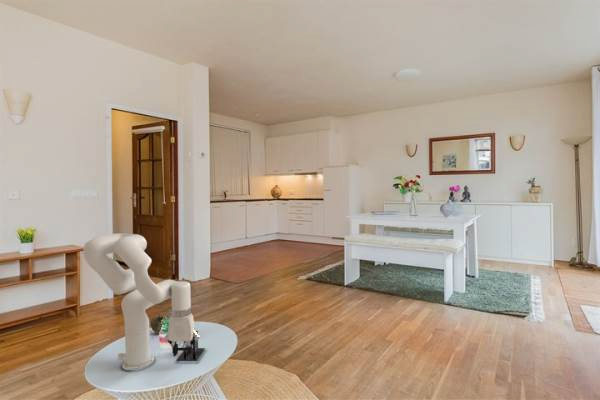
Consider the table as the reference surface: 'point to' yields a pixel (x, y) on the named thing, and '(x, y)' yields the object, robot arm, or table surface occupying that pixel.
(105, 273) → the robot arm
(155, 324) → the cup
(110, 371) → the table surface
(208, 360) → the table surface
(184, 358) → the bracket
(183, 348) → the lever
